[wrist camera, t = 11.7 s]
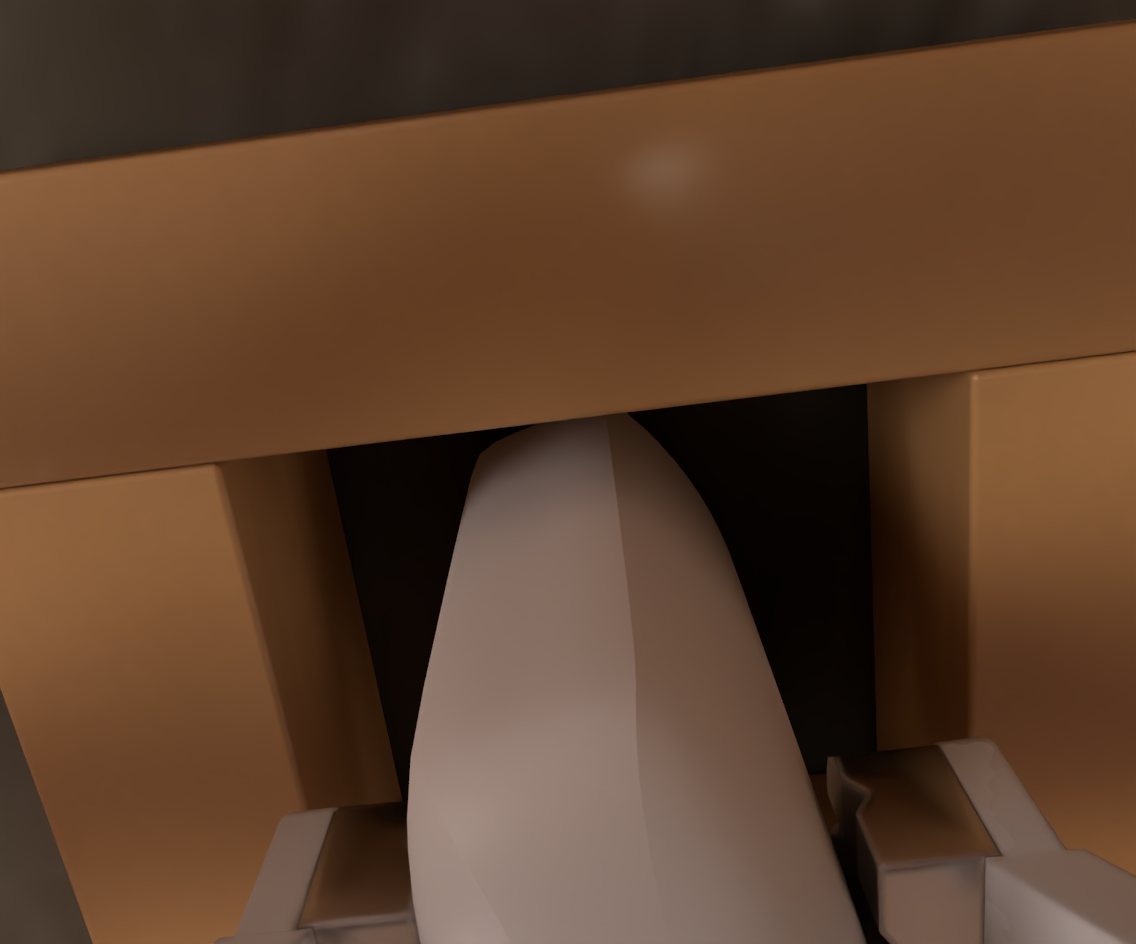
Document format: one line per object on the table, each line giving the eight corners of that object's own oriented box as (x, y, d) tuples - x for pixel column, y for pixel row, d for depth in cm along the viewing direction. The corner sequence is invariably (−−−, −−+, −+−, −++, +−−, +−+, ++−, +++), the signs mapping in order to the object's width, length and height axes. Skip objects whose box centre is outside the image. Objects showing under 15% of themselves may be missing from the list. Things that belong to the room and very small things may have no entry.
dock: (27, 166, 13) (-181, 197, 10) (1102, 22, 13) (1324, -3, 9) (265, 976, 18) (187, 1212, 14) (1061, 896, 17) (1197, 1119, 14)
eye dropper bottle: (452, 728, 16) (205, 2176, 5) (480, 380, 14) (184, 1469, 3) (729, 754, 16) (1089, 2200, 5) (796, 413, 15) (1599, 1555, 3)
